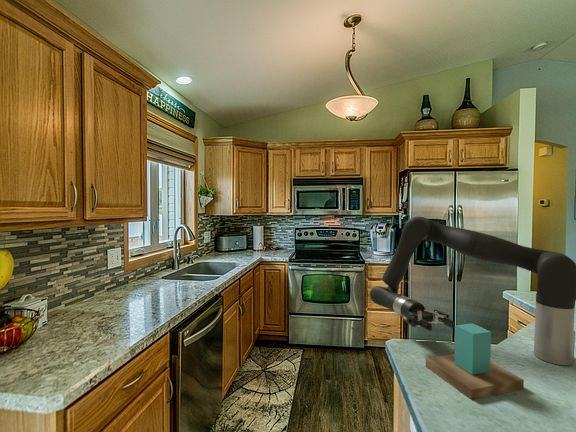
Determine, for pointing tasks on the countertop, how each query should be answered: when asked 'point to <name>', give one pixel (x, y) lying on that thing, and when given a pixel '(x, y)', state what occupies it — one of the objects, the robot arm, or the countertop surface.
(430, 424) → the countertop surface
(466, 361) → the tall teal pillar
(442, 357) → the post stand
